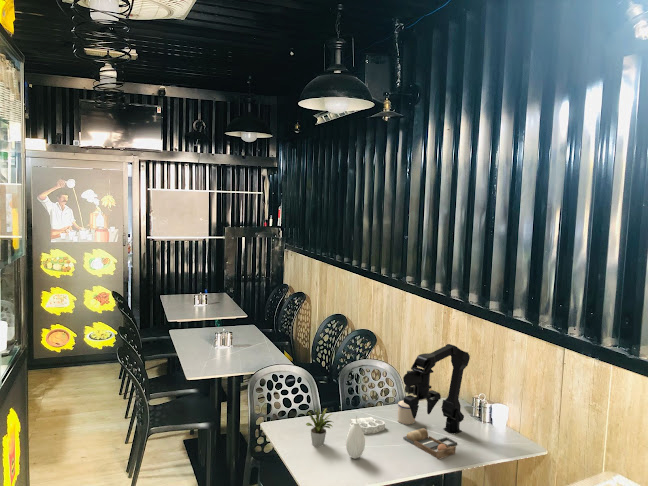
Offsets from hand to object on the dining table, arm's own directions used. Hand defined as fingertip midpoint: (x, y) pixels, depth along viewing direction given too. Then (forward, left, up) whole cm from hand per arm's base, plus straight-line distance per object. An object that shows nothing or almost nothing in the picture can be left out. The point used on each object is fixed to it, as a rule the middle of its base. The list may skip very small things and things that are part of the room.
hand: (421, 416), depth 236 cm
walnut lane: (+1, +9, -12) cm, 15 cm away
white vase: (+37, -2, -12) cm, 38 cm away
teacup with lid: (-10, -21, -12) cm, 27 cm away
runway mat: (+1, +2, -12) cm, 12 cm away
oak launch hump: (+1, -1, -12) cm, 12 cm away
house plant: (+45, -20, -12) cm, 50 cm away
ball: (0, +12, -10) cm, 16 cm away
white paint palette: (+13, -23, -12) cm, 30 cm away
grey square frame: (-9, +8, -12) cm, 17 cm away
